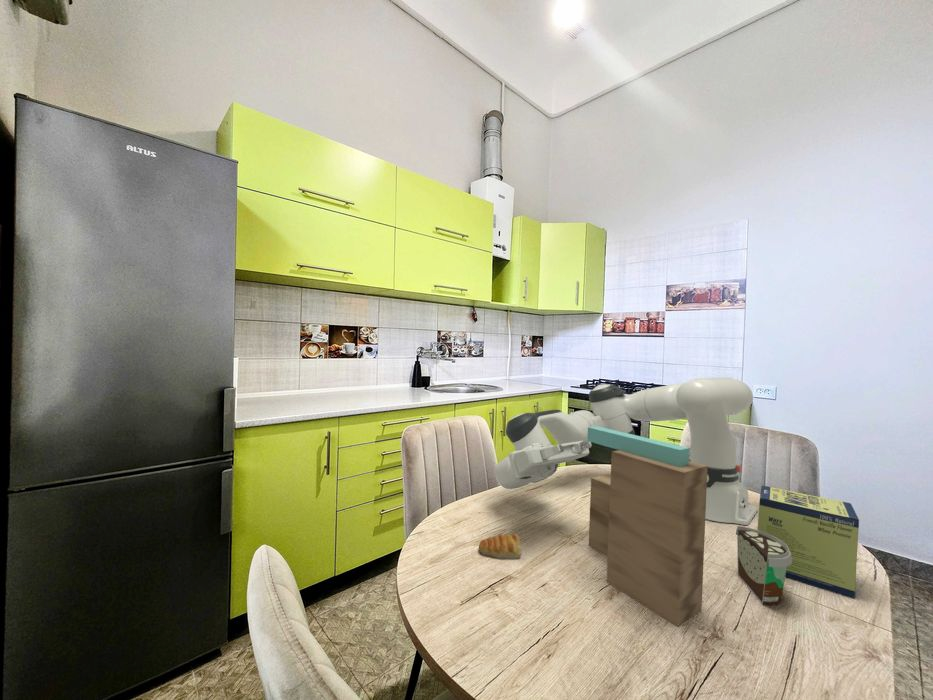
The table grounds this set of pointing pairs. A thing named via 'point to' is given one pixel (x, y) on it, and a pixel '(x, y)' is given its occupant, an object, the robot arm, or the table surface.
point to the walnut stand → (652, 532)
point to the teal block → (640, 446)
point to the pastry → (501, 546)
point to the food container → (762, 564)
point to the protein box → (813, 537)
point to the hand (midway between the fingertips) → (575, 445)
